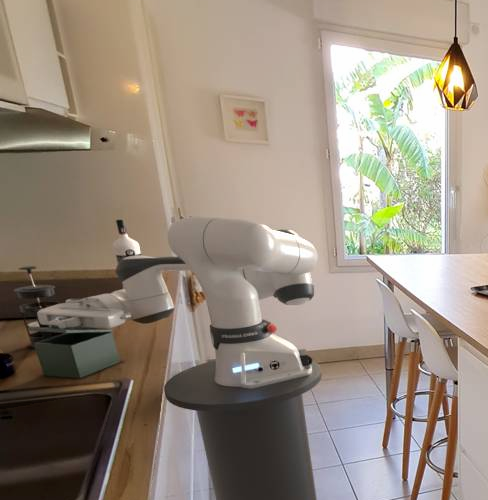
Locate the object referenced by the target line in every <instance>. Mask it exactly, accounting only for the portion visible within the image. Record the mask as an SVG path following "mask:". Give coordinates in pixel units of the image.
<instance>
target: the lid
mask: <svg viewBox="0 0 488 500" xmlns="http://www.w3.org/2000/svg"><path fill="white" fill-rule="evenodd" d="M112 329H113V328H109V329H100V328H85V327H66V328H63V329H58V328H50V327H41V328H28V330H29V332H38V331H43V332H57V333H87V332H112V333H113V330H112Z"/></svg>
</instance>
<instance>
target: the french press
mask: <svg viewBox="0 0 488 500" xmlns="http://www.w3.org/2000/svg"><path fill="white" fill-rule="evenodd" d="M38 268H39V267H38V266H35V265H28V266H21V267H19V268H18V270H19V271H20V270H21V271H26V273H27V275H29V277H30V280H31V283H32V285H26V286H19V287H17V288H14V289H13V292H14V293H16V294H17V298H18V299H24V300H27V299H28V300H29V299H32V300H33V299H36V300H37V301H34V302H27V303H24V304H21V305H19V306H18V307H19V310H20V314H21V317H22V320H23V322H24V326H25V328H26V332H27V335H28V337H29V342H30V343H31V344H30V347H31V348H33V349H35V347H34V343H36V342H39V341H42V340H46V339H49V338H52V337H55V336H59V335H62V334H65V333H57V332H43V331H33V332H31V333H30V331H29V330H28V328H41V327H49V325H42V324H40V322H39V319H38V315H37V312H38V311H39V310H41V309H44V308H47V307H50V306H54V305H57V304H61V302H60V301H56V300H44V301H41V300H40V299H42V298H48V297H53V296H54V295H56V293H55V290H54V289H55V288H56V286H55V285H52V284H35V281H34V278H33V270H35V269H36V270H37V269H38ZM25 314H35V317H36V320H37V321H33V322H29V323H27V320H26V318H25Z"/></svg>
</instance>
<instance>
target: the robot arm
mask: <svg viewBox="0 0 488 500" xmlns="http://www.w3.org/2000/svg"><path fill="white" fill-rule="evenodd" d="M167 232H168V233H167V243H168V246H169V248H170V251H172V253H173V254H174V255H175V256H149V255H141V256H138V255H137V256H129V257H126V258H123V259H121V260H120V261H119V263H118V262H117V264H116V267H115V270H114V272H115V274H116V275H117V278H118V280H119V281H120V283H121V284H122V287H123V286H124V288H125V289H123V288H122V289H118V290H117V289H116V290H114V291H111V292H110V293H101V294H98V295H92V296H88V297H81V298H70V299H66V300H65V302H62V303H60V304H57V305H54V306H50V307H49V306H46V307H47V308H44V309H41V310H39V311H38V312H37V315H38V319H39V322H40V324H42V325H49V327H50V328H58V329H63V328H66V327H85V328H100V329H113V328H115V327H118V326H121V325H123V324H125V323H126V322H127V321H128V322H129V321H133V322H134V323H139V324H152V323H155V322H159V321H161V320H164V319H167V318H170V316H171V315H172V314H173V313H174V311H175V305H174V301H173V299H172V297H171V294H170V291H169V290H168V287H167V284H166V282H165V279H164V277H163V272H192V274H193V275H194V277H195V278H196V281H197V282H198V284H199V286H200V288H201V290H202V293H203V295H204V298H205V302H206V307H207V311H208V315H209V321H210V325H209V334H210V341H211V344H212V346H213V348H214V353H215V360H216V372H215V379H214V381H215V382H216V383H217V384H219V385H223V386H232V387H243V388H248V389H252V388H257V387H261V386H265V385H269V384H273V383H278V382H282V381H286V380H290V379H294V378H299V377H303V376H307V375H309V374H310V373H311V372H312V367H311V363H312V361H314V360H313V357H311V356H310V355H308V352H307V349H306V348H301V349H298V348H297V347H296V345H294V344H293V343H292V342H291V341H288V340H286V339H285V338H283V337H280V336H278V335H277V334H275V333H276V331H277V329H278V328H277V326H276V325H275V324H274V323H272V322H271V321H269V320H267V319H264V318H262V317H263V316H262V312H261V305H260V301H261V300H264V299H268V298H271V297H274V298H275V299H277V300H278V302H280V303H282V304H284V305H285V306H301V305H303V304H306V303H308V302H310V301H311V300H312V299H313V298H314V296H315V286H314V284H313V280H312V274H311V272H312V271H313V270H315V268H316V266H317V264H318V260H319V256H318V252H317V249H316V248H315V247H314V245H313V244H312V243H310V242H309V241H307V240H305V239H303V238H302V237H300V236H299V234H298V233H296V232H295V231H293V230H291V229H276V230H275V229H271V228H270V227H268V226H267V225H265V224H262V223H258V222H256V221H252V220H249V219H248V220H247V219H243V218H231V217H229V218H228V217H215V216H201V215H200V216H199V215H195V216H189V217H184V218H180V219H177V220H175V221H173V223H172V224H171V225H170V226H169V228H168V231H167ZM308 360H309V361H308Z"/></svg>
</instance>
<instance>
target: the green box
mask: <svg viewBox="0 0 488 500" xmlns="http://www.w3.org/2000/svg"><path fill="white" fill-rule="evenodd" d="M34 347H35V348H34V350H35V352H36V356H37V358H38V361H39V365H40V368H41V371H42V375H43V376H46V377H47V376H49V377H60V378H61V377H62V378H75V379H82V378H84V377H87V376H89V375H92V374H95V373H96V372H99V371H101V370H105V369H107V368H109V367H112V366H114V365H117V364H119V363H121V360H120V355H119V352H118V348H117V345H116V341H115V338H114V334H113V331H112V332H87V333H65V334H62V335H59V336H55V337H52V338H49V339H46V340H42V341H39V342H36V343H34Z"/></svg>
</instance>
